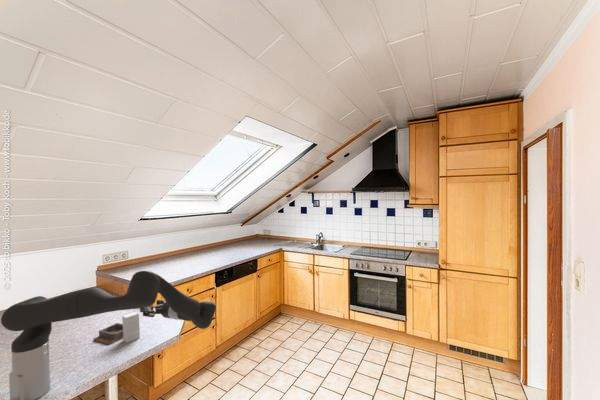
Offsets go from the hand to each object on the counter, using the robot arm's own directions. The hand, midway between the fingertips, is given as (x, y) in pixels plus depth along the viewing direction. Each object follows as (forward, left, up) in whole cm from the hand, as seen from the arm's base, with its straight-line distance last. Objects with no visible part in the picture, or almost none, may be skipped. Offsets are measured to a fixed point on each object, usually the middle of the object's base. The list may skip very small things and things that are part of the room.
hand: (149, 305), depth 126 cm
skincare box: (0, +12, -18) cm, 22 cm away
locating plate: (0, +23, -18) cm, 29 cm away
